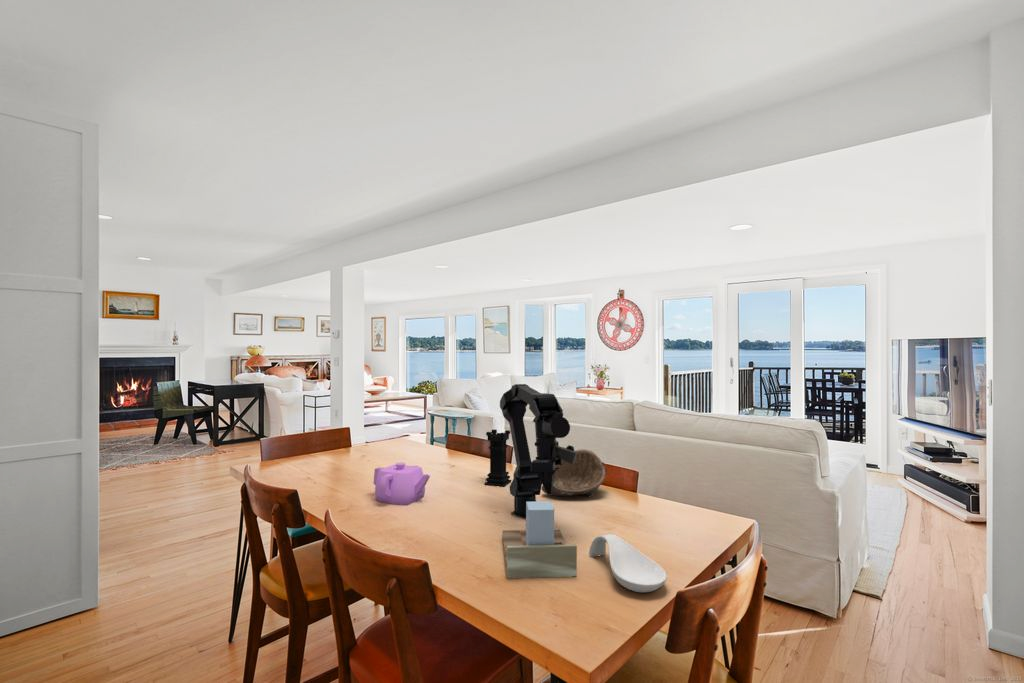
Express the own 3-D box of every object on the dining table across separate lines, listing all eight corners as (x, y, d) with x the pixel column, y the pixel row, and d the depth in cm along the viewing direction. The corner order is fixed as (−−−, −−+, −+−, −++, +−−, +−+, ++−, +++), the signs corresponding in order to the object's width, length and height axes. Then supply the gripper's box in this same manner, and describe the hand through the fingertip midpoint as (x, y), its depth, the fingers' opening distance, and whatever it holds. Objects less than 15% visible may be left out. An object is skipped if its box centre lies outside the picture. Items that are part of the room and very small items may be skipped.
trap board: (502, 537, 138) (502, 512, 138) (559, 536, 139) (559, 511, 139) (507, 578, 114) (507, 547, 114) (576, 576, 115) (576, 546, 115)
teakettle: (371, 494, 177) (371, 460, 177) (418, 489, 184) (419, 456, 184) (379, 509, 161) (379, 471, 161) (430, 503, 168) (431, 466, 168)
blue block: (525, 554, 122) (526, 501, 122) (550, 554, 123) (550, 501, 122) (528, 565, 116) (528, 510, 116) (553, 565, 117) (554, 509, 116)
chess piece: (511, 481, 195) (511, 430, 195) (504, 487, 187) (504, 433, 187) (492, 479, 197) (492, 429, 197) (484, 485, 190) (484, 432, 190)
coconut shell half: (552, 505, 167) (617, 479, 173) (533, 465, 176) (596, 441, 182) (549, 520, 179) (610, 496, 185) (532, 482, 188) (591, 459, 194)
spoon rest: (678, 594, 108) (678, 561, 108) (632, 605, 103) (632, 570, 103) (615, 552, 129) (615, 524, 130) (575, 559, 125) (575, 530, 125)
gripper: (569, 437, 132) (573, 498, 129) (577, 435, 150) (581, 489, 147) (528, 439, 135) (531, 499, 132) (541, 437, 153) (544, 490, 150)
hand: (549, 494), depth 140 cm, fingers closed
